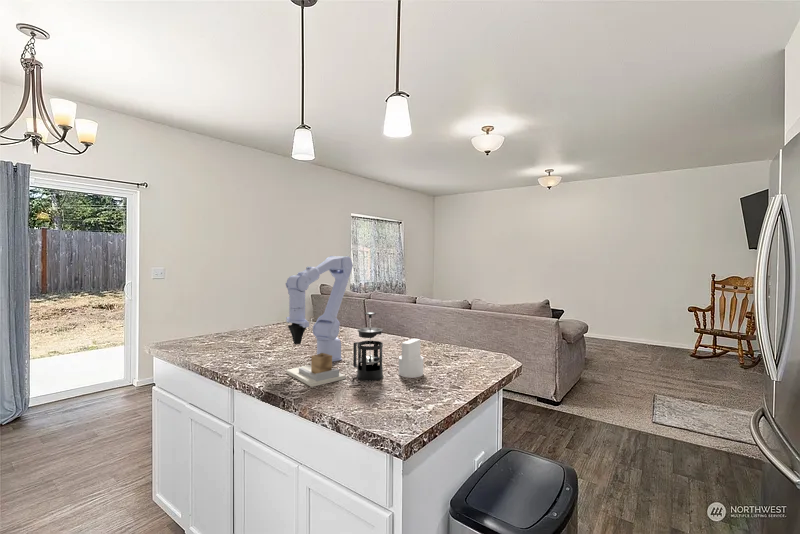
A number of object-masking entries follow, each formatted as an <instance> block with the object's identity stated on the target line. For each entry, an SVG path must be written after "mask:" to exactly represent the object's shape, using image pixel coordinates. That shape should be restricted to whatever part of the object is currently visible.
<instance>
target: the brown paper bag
mask: <svg viewBox="0 0 800 534" xmlns="http://www.w3.org/2000/svg"><path fill="white" fill-rule="evenodd" d="M310 365H311V372H312V373H314V374H316V373H321V372H325V371H329V370H332V369H333V362H332V355H328V354H325V353H320V354H317V353H316V354H313V355H311V364H310Z"/></svg>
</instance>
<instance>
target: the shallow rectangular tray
mask: <svg viewBox="0 0 800 534" xmlns="http://www.w3.org/2000/svg"><path fill="white" fill-rule="evenodd" d="M285 372H286V374H287V375H289V376H291V377H293V378H294V379H296V380H298V381H299V382H302V383H303V384H305V385H307V386H309V387H310V388H313V387H317V386H321V385H325V384H329V383H334V382H338V381H342V380H344V379H346V374H343V373H341V372H340V369H339V368H335V369H333V368H332V370H329V371H325V372H321V373H316V374H314V373H312V372H311V364H309V365H304V366H299V367H293V368H290V369H289V368H288V369H286V371H285Z"/></svg>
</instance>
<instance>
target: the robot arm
mask: <svg viewBox="0 0 800 534" xmlns="http://www.w3.org/2000/svg"><path fill="white" fill-rule="evenodd" d="M353 267H354V265H353V260H352V258H351V257H350V256H349V255H346V256H344V255H343V256H342V255H340V256H339V255H336V256H335V255H330V256H328V257H326V258H325V259H324V261H322V262H320V263H319V264H318V265H316V266H310V265H309V266H307V267H306V268H305V269H304V270H302V271H298V272H297V274H296V275H294V274H293V275H290V276H289V277H288V278H287V280H286V282H285V288H286V289H287V293H288V296H289V297H288V299H289V302H288V304H289V305H288V306H289V308H288V311H289V312H288V313H289V315H288V316H286V320H285V321H286V323H289V325H287V328H288V330H289V332H290V334H291V337H292V342H293V345H295V346H296V345H301V343H302V341H303V340H302V339H303V336H304V333H305V331H306V329H307V328H309V327H310V321H308V320H307V319H306V291H307V290H308V289H309V286H310V285H311V284H313V283H314V282H316V281H317V280H319V278H320V277H321V276H320V275H322V274H323V273H326V272H328V271H329V273H330V275H331V276H332V278H334V282H333V285H332V288H331V291H330V295H329V298H328V300H327V303H326V306H325V309H324V312H323V314H322V315H321V314H320V315H319V317H317V319H316V322H315V323H314V324H313V326H312V334H313V335H314V336H315V339H316V355H317V354H320V353H325V354H328V355H332V363H333V362H338V361H342V360H343V358H342V342H341V339H340V338H339V337H338V336H339V333H340V325H341V322H340V321H339V319H338V318H337V317H338V314H339V311H340V308H341V304H342V301H343V298H344V296H345V292H346V289H347V286H348V283H349V281H350V276H351V272H352V270H353Z"/></svg>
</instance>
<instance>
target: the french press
mask: <svg viewBox="0 0 800 534" xmlns="http://www.w3.org/2000/svg"><path fill="white" fill-rule="evenodd" d="M364 315H368V319H369V327H361V328H358V329H357V332H358V337H360V338H363V339H369V340H362V341H354V342H353V346H352V349H353V350H352V351H353V352H352V354H353V356H352V357H353V360H352V363H353V365H352V366H353V368H356V369H357V370H356V371H357V373H356V379H357V380H359V381H363V382H376V381H380V380H382V379H383V378H384V374H383V373H384V371H383V370H384V369H383V368H384V367H383V346H384V343H383V342H382V341H380V340H372V339H373V338H375V337H376V336H377V335H382V333H383V331H384V329H383V328H379V327H375V326H373V327H372V326H371V325H372V324H371V323H372V316H373V315H377V313H376V312H374V311H367V312H364ZM367 351H369V355H367ZM372 351H373V355H372V354H371V352H372Z"/></svg>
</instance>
